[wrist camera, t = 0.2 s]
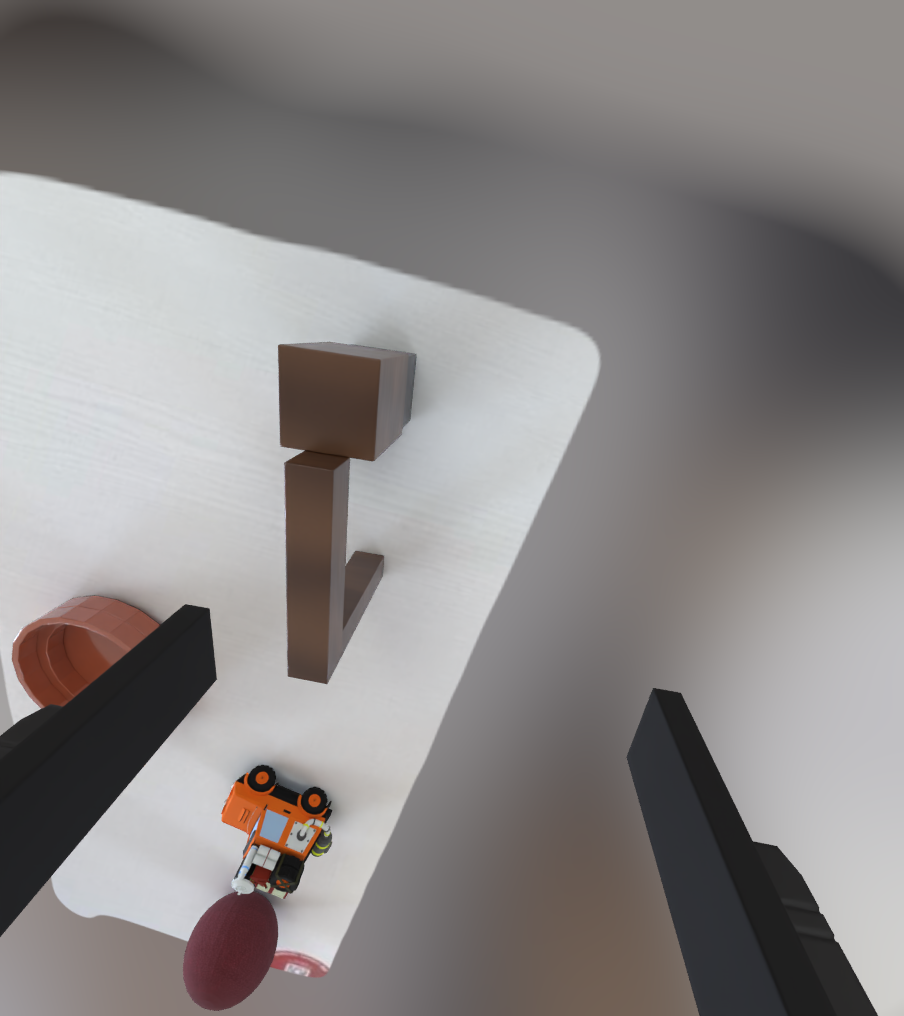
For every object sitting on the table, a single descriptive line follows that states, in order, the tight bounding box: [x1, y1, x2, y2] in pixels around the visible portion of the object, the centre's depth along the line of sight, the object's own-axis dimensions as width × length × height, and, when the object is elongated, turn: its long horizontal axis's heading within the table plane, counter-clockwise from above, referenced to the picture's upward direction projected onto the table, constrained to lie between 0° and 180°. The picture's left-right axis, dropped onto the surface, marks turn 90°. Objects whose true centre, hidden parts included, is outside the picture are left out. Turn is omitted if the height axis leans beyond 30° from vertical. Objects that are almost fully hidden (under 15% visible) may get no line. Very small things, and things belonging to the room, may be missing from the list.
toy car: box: [221, 765, 332, 899], centre depth 44 cm, size 7×12×9 cm, turn 66°
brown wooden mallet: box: [278, 342, 416, 684], centre depth 28 cm, size 18×5×12 cm, turn 173°
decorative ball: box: [183, 891, 278, 1011], centre depth 52 cm, size 10×10×10 cm
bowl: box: [12, 596, 160, 709], centre depth 42 cm, size 14×14×4 cm
